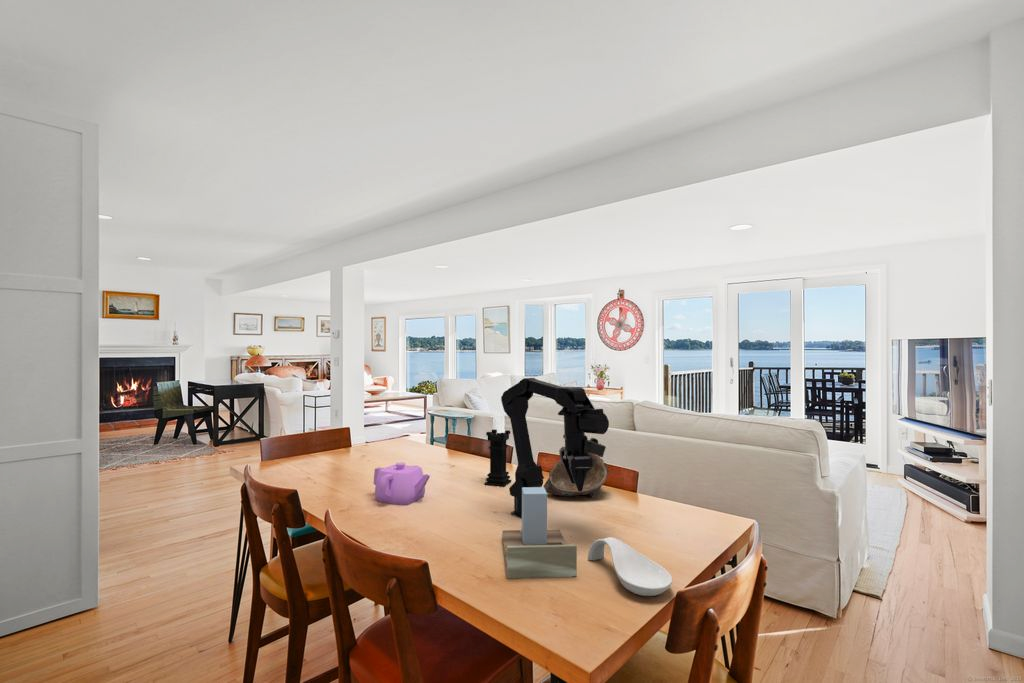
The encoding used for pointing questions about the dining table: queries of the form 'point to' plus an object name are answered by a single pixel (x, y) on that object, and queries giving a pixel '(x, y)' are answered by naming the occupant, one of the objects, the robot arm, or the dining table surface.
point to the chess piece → (498, 459)
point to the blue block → (534, 515)
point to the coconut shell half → (563, 486)
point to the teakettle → (399, 484)
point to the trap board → (539, 556)
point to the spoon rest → (633, 567)
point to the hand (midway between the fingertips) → (576, 487)
